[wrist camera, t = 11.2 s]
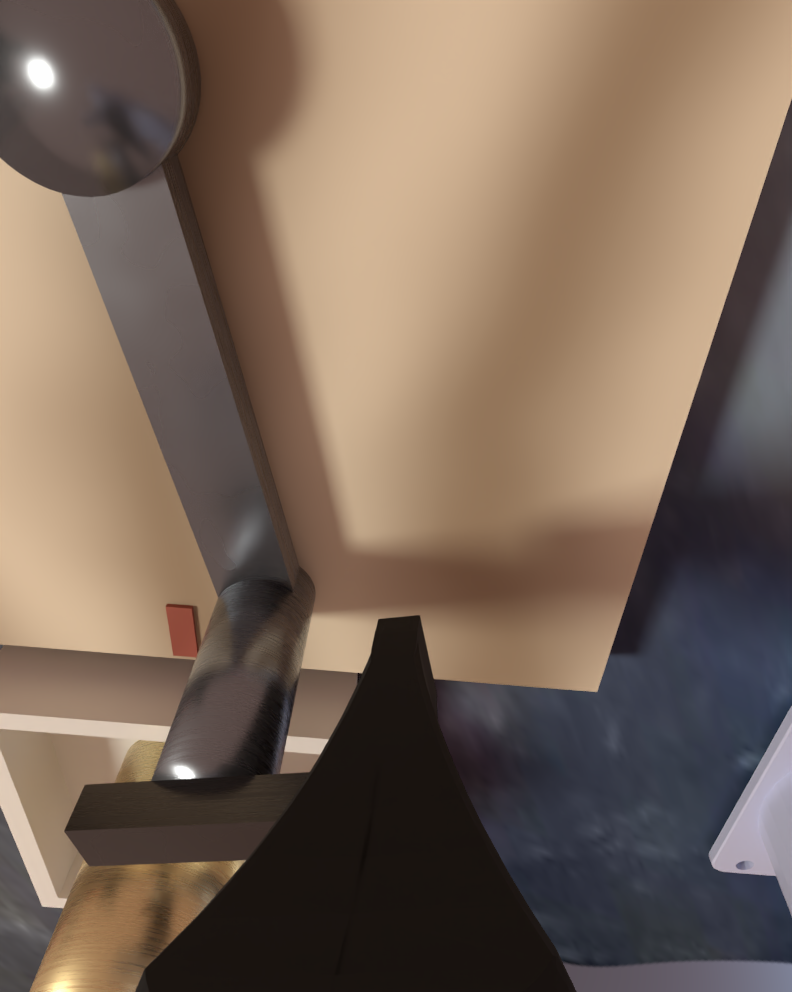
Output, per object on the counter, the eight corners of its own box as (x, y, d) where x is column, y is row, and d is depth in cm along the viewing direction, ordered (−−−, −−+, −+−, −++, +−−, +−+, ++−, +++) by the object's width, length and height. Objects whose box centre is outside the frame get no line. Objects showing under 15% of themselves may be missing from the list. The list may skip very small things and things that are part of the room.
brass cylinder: (251, 733, 20) (176, 1033, 14) (268, 814, 22) (209, 1100, 17) (109, 728, 20) (-21, 1022, 15) (141, 810, 23) (39, 1091, 17)
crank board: (845, -187, 10) (896, -211, 9) (588, 655, 19) (597, 695, 18) (-503, -292, 10) (-618, -327, 9) (-109, 599, 19) (-142, 636, 18)
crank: (-84, -34, 10) (-577, -65, 5) (197, -94, 9) (-52, -191, 5) (196, 630, 17) (101, 883, 12) (367, 616, 16) (338, 874, 11)
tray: (358, 661, 19) (349, 741, 17) (348, 851, 24) (340, 930, 22) (11, 633, 19) (-40, 709, 17) (75, 829, 24) (42, 906, 22)
